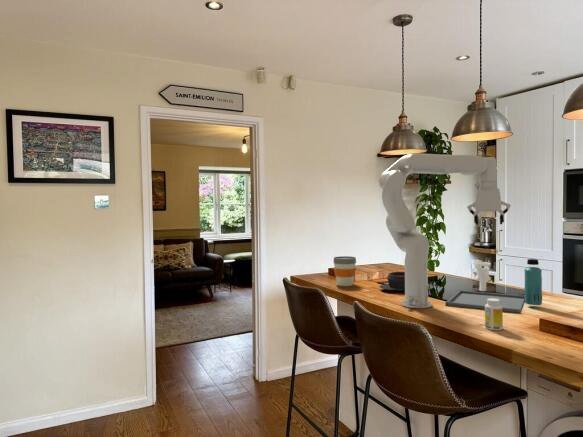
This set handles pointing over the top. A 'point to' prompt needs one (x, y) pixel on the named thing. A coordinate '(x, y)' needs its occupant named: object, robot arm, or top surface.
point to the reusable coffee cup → (344, 270)
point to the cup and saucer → (395, 282)
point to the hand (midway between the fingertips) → (489, 224)
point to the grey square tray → (485, 300)
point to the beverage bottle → (533, 284)
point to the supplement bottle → (493, 314)
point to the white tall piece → (482, 273)
